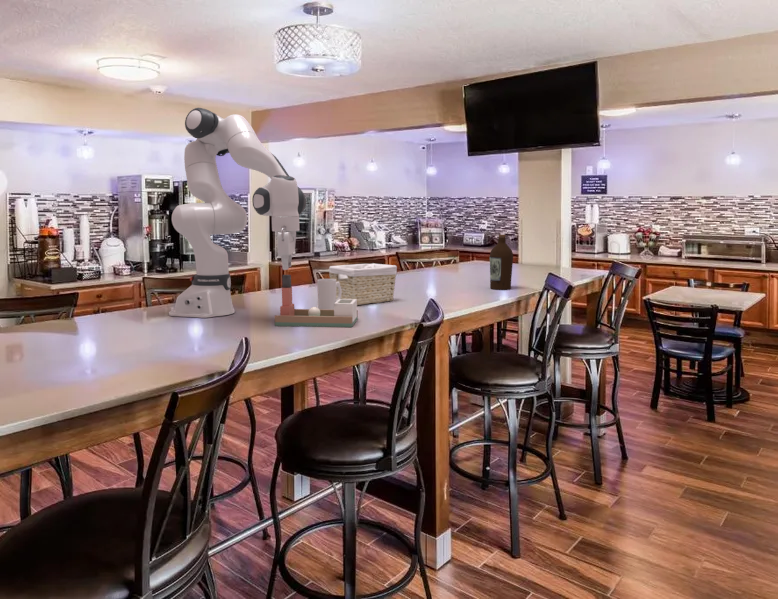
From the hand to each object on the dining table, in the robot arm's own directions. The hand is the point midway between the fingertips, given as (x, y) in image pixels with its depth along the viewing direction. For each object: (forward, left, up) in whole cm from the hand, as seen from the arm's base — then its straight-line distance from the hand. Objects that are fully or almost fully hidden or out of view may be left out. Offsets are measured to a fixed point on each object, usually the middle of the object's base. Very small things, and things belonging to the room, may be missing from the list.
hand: (287, 268), depth 205 cm
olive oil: (+78, +91, -18) cm, 121 cm away
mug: (+11, +20, -18) cm, 29 cm away
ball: (+9, 0, -15) cm, 17 cm away
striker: (0, 0, -16) cm, 16 cm away
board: (+10, 0, -18) cm, 20 cm away
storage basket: (+19, +46, -18) cm, 53 cm away
